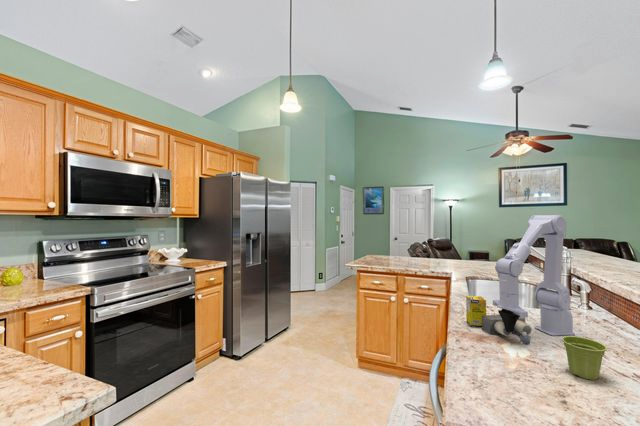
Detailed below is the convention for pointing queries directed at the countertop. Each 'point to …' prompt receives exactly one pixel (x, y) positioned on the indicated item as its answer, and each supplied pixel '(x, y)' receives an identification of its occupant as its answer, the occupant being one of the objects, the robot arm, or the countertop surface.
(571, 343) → the plant pot
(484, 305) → the supplement box
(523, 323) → the knob
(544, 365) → the countertop surface
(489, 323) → the panel
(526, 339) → the potentiometer
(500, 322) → the knob
